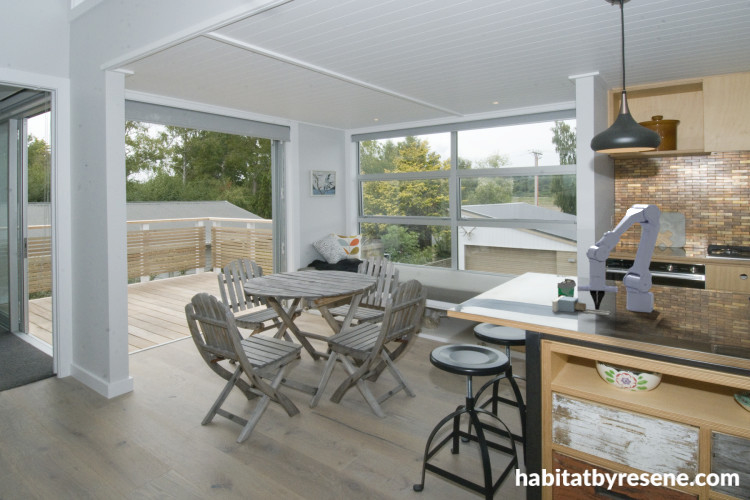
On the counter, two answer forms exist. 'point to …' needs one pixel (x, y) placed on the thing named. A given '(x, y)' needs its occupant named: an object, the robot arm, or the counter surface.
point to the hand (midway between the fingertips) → (597, 309)
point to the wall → (555, 304)
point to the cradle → (596, 312)
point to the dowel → (580, 306)
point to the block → (567, 303)
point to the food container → (566, 288)
